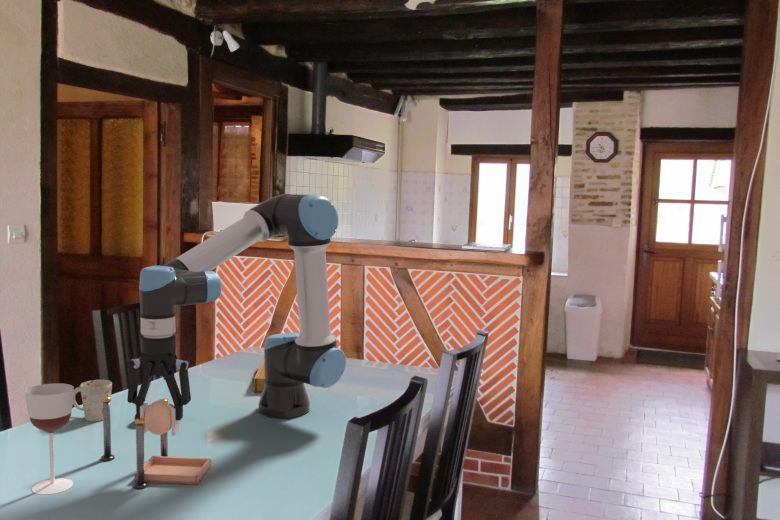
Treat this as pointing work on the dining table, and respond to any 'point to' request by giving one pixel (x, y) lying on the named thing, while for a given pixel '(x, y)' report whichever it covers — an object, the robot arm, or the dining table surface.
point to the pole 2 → (140, 454)
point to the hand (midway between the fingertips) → (159, 432)
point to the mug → (93, 398)
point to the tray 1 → (175, 470)
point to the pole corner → (164, 440)
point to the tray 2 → (260, 378)
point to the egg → (158, 417)
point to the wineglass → (50, 424)
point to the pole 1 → (107, 429)
